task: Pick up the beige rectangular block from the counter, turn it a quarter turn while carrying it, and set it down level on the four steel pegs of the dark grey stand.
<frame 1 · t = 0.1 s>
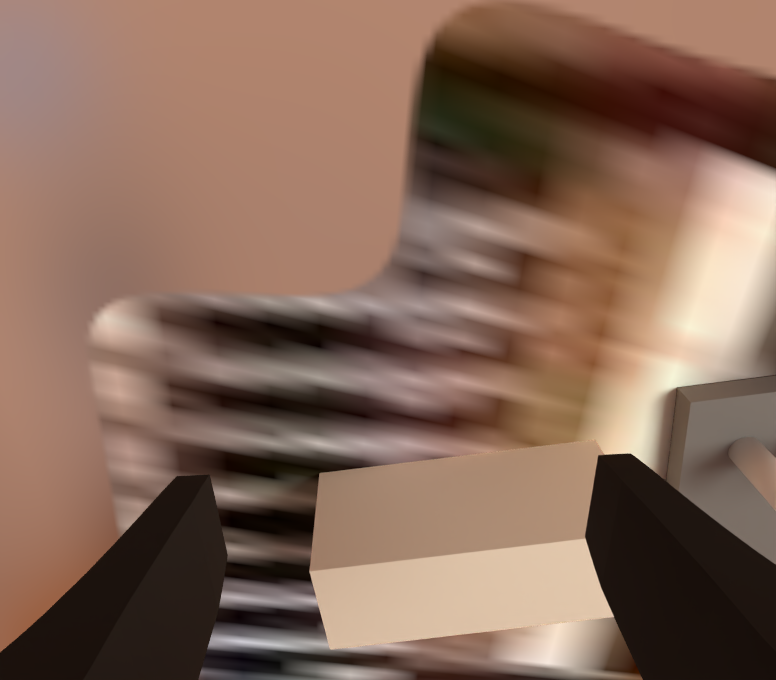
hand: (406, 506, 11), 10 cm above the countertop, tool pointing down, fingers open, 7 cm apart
peg stand: (742, 514, 25), on the countertop
beige rectangular block: (459, 491, 24), on the countertop
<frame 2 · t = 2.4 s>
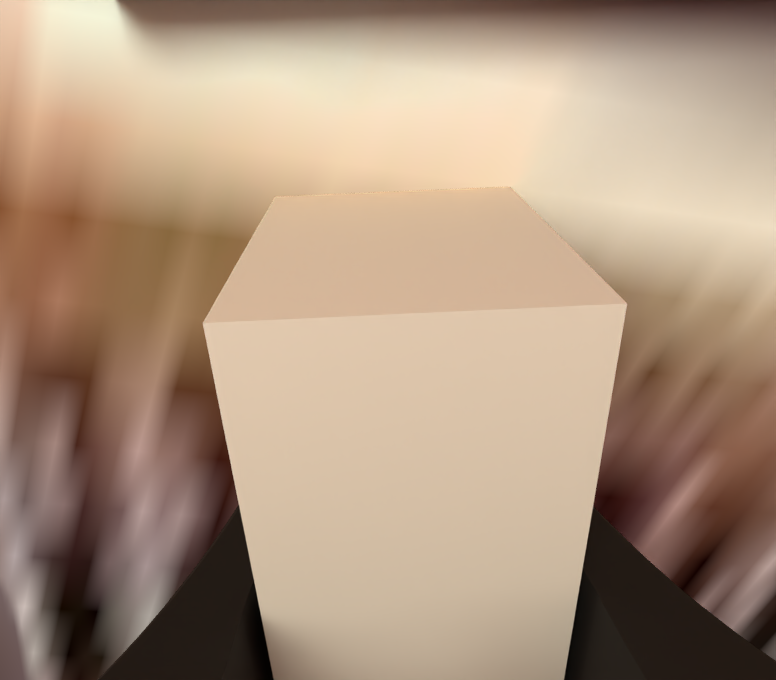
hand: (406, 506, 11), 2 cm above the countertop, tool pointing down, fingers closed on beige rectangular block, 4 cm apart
beige rectangular block: (400, 450, 12), on the countertop, touching gripper
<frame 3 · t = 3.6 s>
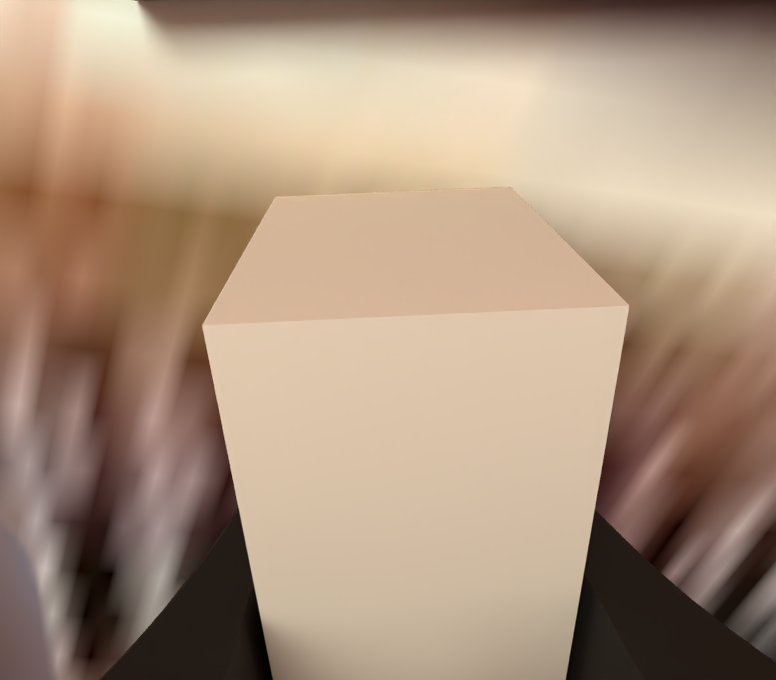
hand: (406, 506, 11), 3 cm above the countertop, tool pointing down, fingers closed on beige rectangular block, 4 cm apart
beige rectangular block: (400, 451, 12), point 1 cm above the countertop, touching gripper
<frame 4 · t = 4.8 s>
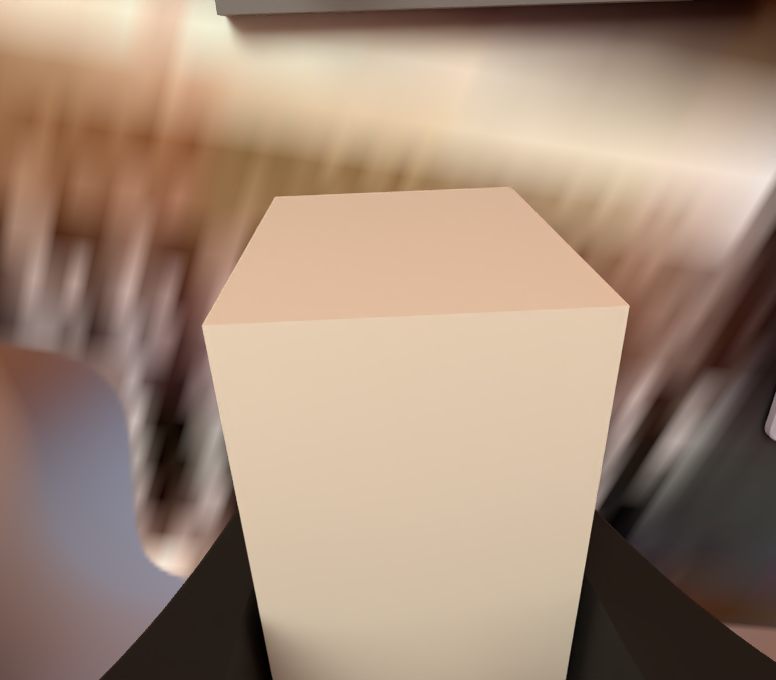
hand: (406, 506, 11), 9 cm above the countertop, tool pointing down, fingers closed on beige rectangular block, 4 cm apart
beige rectangular block: (400, 451, 12), point 8 cm above the countertop, touching gripper
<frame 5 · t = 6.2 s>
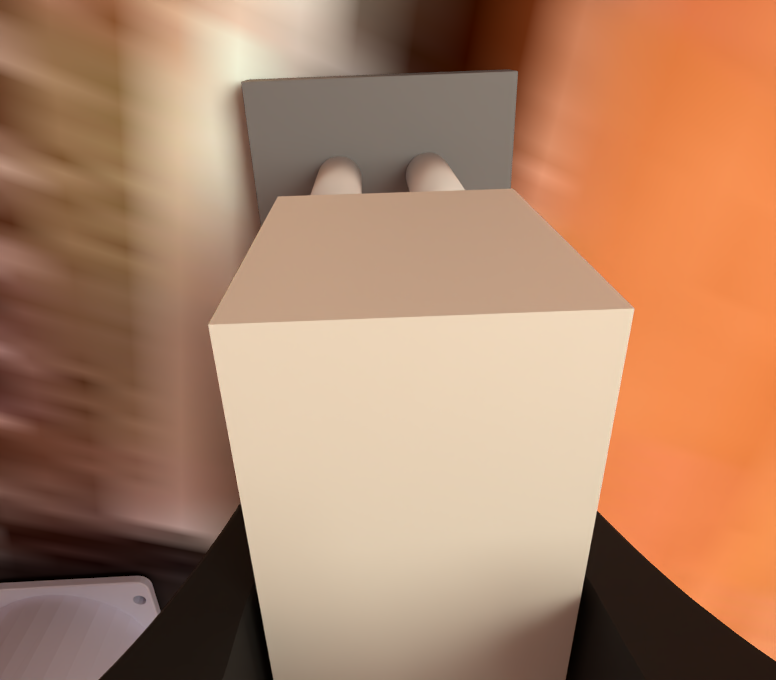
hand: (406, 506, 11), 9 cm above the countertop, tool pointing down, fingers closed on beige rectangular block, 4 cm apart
peg stand: (387, 312, 19), on the countertop
beige rectangular block: (400, 451, 12), point 7 cm above the countertop, touching gripper
when the fingers open (7 cm above the countertop, at t = 7.3 s): beige rectangular block stays where it is, resting on peg stand.
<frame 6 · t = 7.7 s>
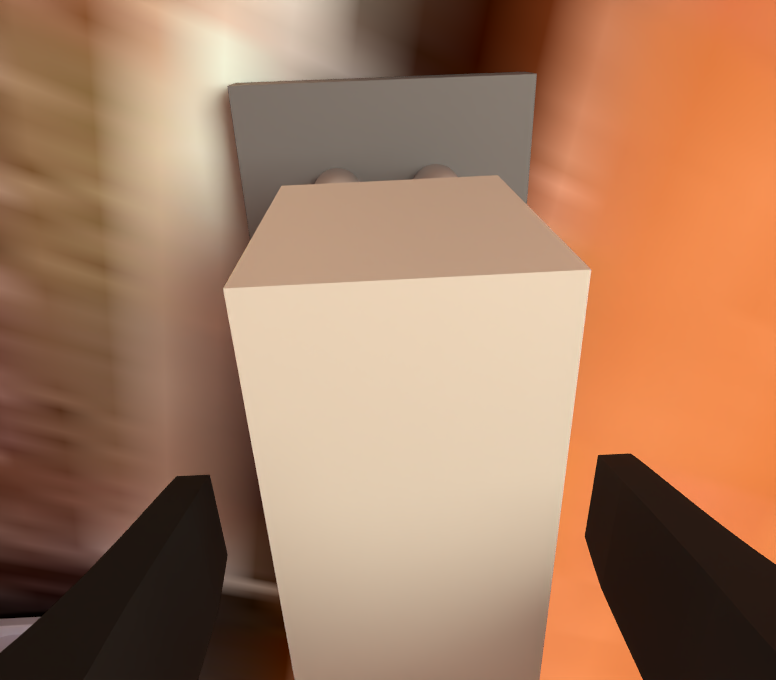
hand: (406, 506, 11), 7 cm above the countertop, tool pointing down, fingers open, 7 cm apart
peg stand: (390, 335, 17), on the countertop
beige rectangular block: (399, 424, 13), point 4 cm above the countertop, touching peg stand
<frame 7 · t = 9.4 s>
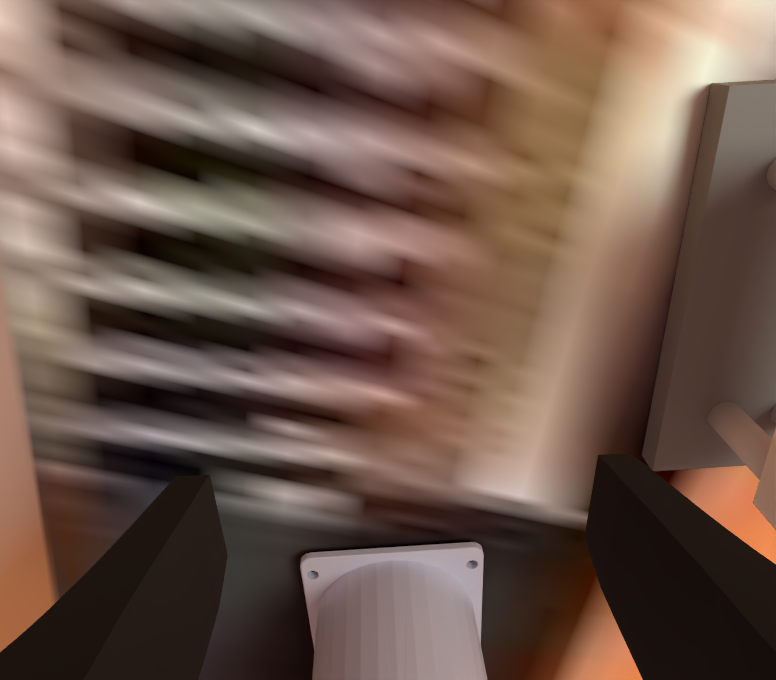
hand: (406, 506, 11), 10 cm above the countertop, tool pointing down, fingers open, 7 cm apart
peg stand: (768, 292, 21), on the countertop
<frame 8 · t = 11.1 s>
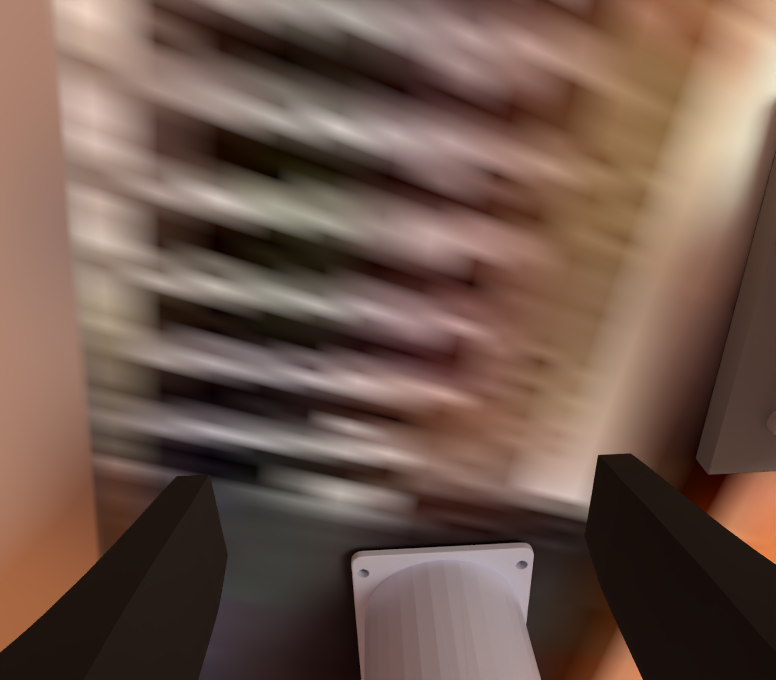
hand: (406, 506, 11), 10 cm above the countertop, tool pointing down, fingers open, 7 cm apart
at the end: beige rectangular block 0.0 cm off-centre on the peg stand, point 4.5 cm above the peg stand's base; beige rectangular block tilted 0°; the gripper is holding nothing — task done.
